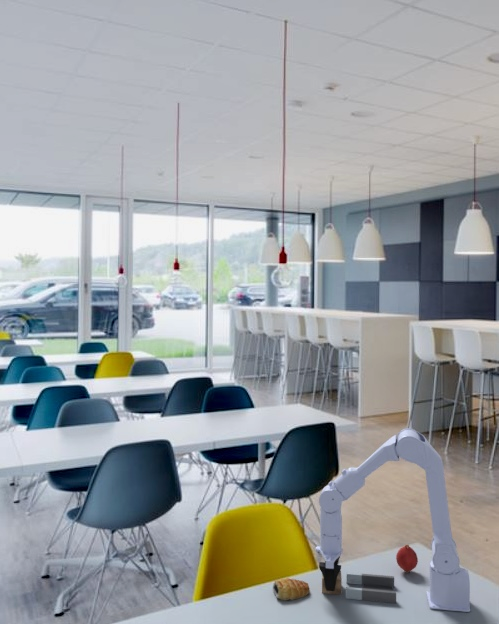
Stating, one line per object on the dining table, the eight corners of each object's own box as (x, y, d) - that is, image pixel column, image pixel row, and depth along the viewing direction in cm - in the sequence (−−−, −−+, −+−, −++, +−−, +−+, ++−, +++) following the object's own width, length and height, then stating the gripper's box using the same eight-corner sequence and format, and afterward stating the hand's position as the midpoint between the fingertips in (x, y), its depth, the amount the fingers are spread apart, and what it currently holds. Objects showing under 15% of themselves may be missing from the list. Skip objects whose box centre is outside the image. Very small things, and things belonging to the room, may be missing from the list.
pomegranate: (395, 566, 165) (395, 538, 165) (415, 567, 165) (416, 540, 164) (397, 576, 160) (397, 547, 159) (419, 577, 159) (419, 548, 159)
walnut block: (340, 585, 155) (340, 570, 155) (341, 594, 150) (341, 579, 150) (322, 584, 156) (322, 569, 156) (322, 593, 151) (322, 578, 151)
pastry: (304, 585, 155) (304, 571, 155) (313, 598, 149) (313, 583, 149) (270, 590, 153) (270, 576, 153) (279, 603, 146) (279, 588, 146)
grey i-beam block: (394, 585, 155) (394, 576, 155) (396, 603, 146) (396, 593, 146) (346, 581, 157) (346, 572, 157) (345, 598, 148) (345, 588, 148)
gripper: (317, 520, 161) (317, 569, 161) (313, 542, 146) (313, 595, 147) (343, 522, 159) (343, 571, 160) (341, 544, 145) (341, 598, 145)
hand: (330, 583), depth 153 cm, fingers open, 7 cm apart
